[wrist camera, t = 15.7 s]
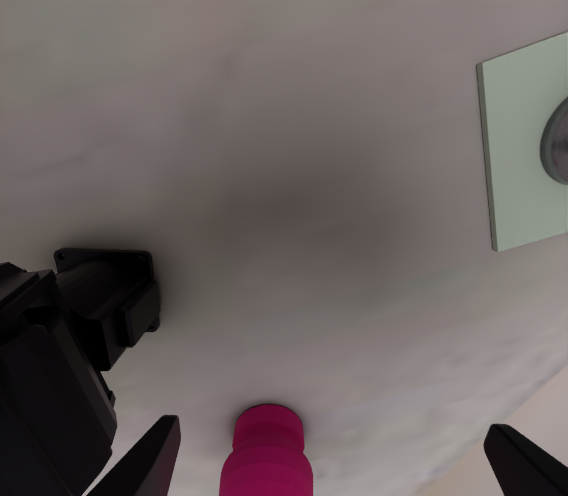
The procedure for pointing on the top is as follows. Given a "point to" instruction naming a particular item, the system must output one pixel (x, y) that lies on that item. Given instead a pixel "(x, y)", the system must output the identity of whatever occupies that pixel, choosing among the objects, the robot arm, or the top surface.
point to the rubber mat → (522, 141)
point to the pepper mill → (267, 456)
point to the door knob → (556, 144)
